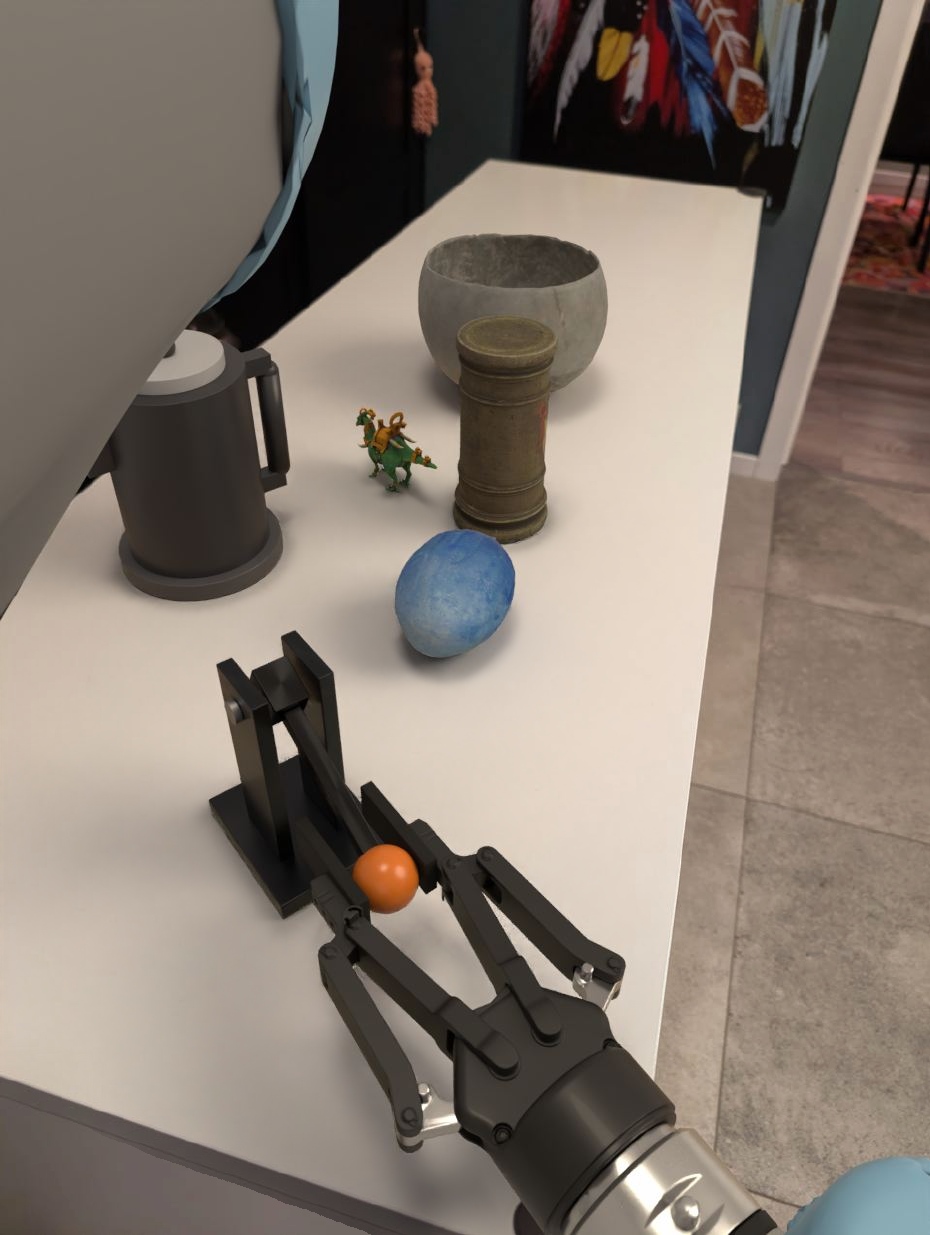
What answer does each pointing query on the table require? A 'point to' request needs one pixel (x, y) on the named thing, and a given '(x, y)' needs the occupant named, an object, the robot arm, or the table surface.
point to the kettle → (199, 472)
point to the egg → (454, 592)
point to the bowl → (514, 295)
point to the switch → (338, 793)
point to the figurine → (390, 447)
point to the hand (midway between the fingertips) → (335, 816)
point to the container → (503, 425)
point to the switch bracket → (280, 780)
